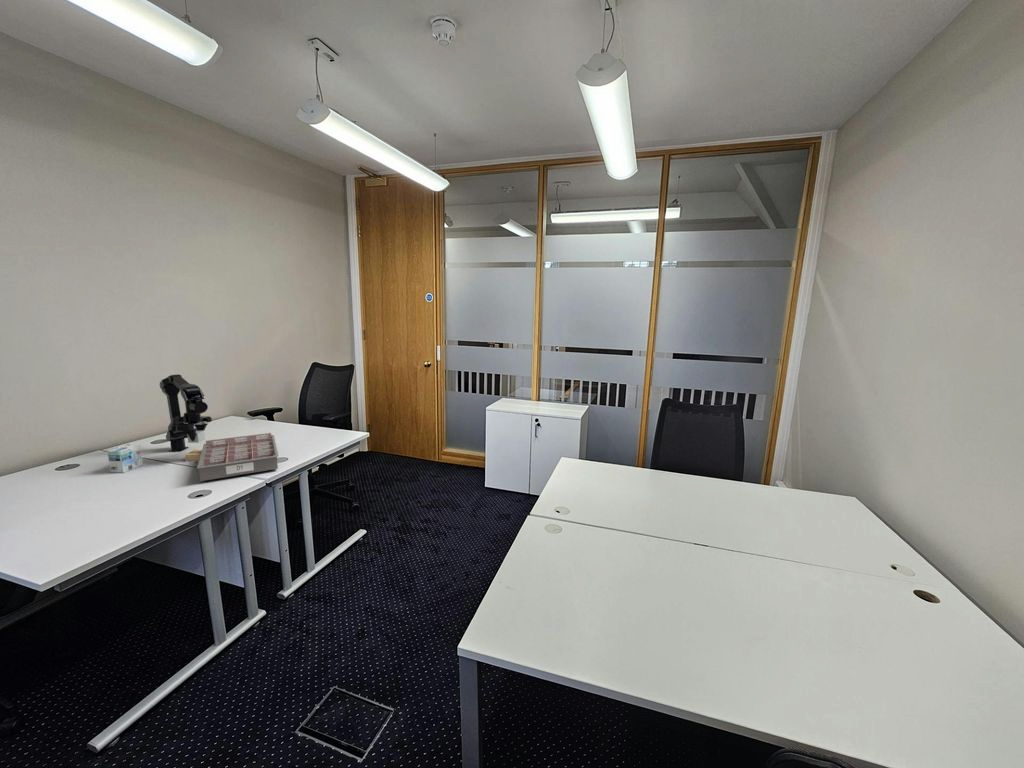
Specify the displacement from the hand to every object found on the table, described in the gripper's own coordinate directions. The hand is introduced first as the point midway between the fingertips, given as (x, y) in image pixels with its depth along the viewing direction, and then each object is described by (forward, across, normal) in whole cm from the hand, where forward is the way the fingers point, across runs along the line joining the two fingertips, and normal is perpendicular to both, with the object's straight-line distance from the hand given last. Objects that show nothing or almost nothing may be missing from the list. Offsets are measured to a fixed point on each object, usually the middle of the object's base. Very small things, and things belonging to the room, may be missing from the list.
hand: (196, 439), depth 215 cm
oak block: (+11, 0, 0) cm, 11 cm away
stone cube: (+1, 0, 0) cm, 1 cm away
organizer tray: (+11, +9, +26) cm, 30 cm away
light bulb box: (+11, +13, -25) cm, 30 cm away
